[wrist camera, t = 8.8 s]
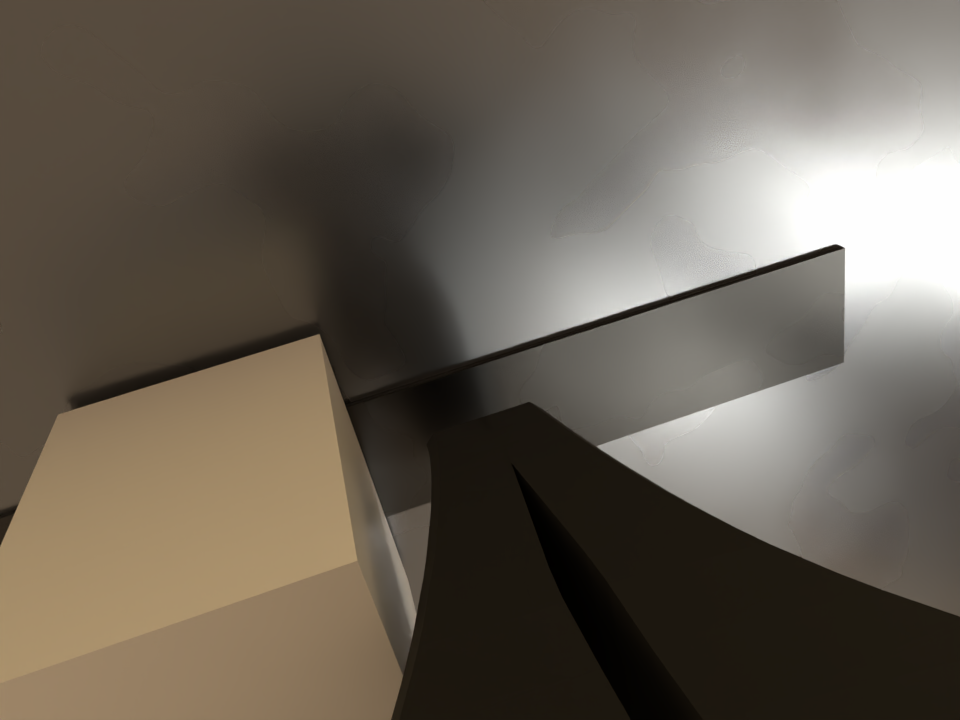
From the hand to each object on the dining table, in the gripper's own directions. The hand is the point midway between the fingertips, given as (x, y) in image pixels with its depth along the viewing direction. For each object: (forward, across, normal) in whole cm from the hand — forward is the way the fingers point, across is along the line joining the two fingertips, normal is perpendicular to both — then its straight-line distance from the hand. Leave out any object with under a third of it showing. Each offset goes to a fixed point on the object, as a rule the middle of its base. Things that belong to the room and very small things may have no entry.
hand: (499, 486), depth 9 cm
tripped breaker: (+1, +3, 0) cm, 3 cm away
